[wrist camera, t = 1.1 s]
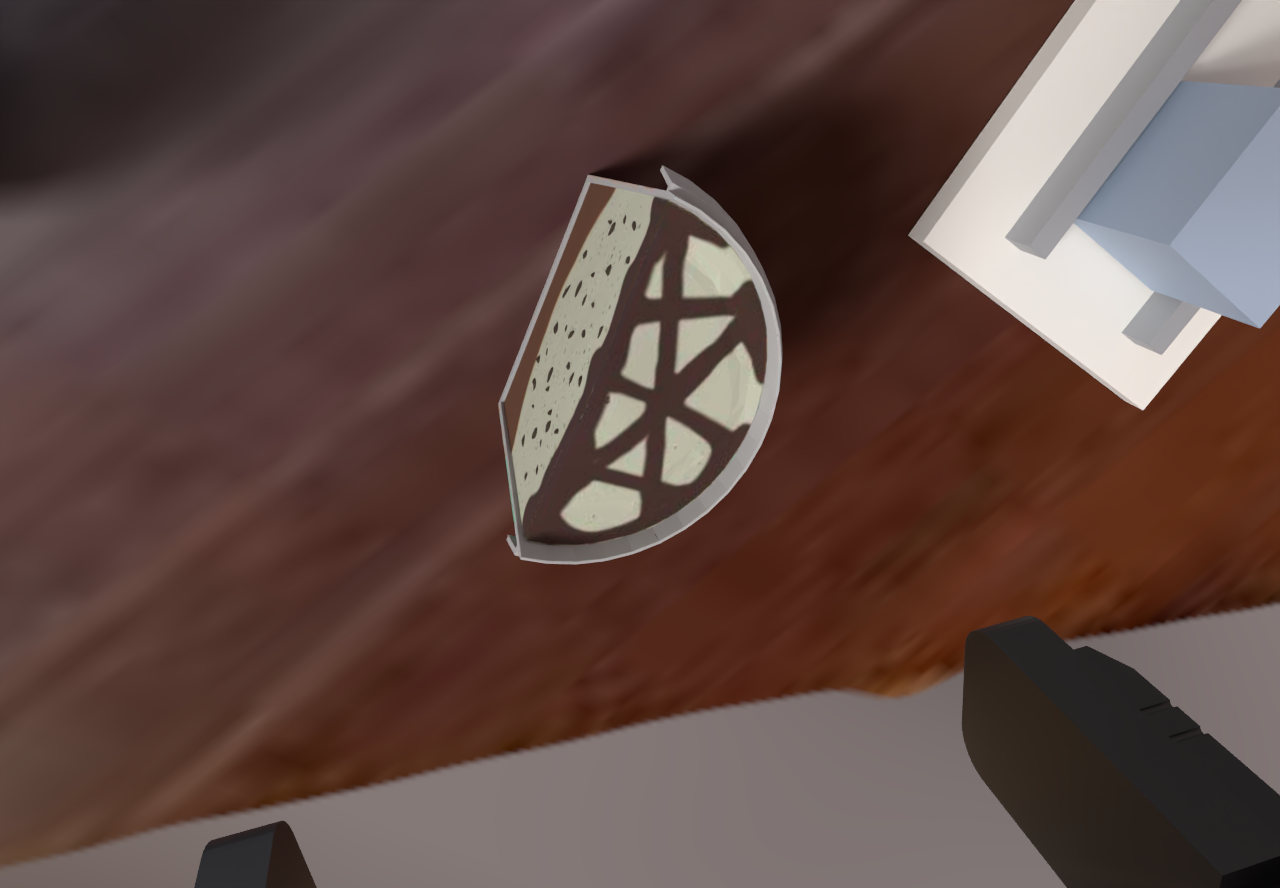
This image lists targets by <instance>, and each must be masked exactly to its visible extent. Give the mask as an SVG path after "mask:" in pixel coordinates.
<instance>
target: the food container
mask: <svg viewBox="0 0 1280 888" xmlns="http://www.w3.org/2000/svg"><path fill="white" fill-rule="evenodd" d="M660 171H661V173H662V175H663V177H664V179H665V181H666V183H667V185H668V188H667V190H666V191H665V190H660V189H655V188H651V187H646V186H641V185H636V184H631V183H627V182H622V181H617V180H612V179H607V178H603V177H598V176H593V175H588V176H587V179H586V182H585V184H584V187H583V189H582V192H581V194H580V197H579V199H578V202H577V205H576V207H575V210H574V212H573V215H572V217H571V220H570V222H569V225H568V227H567V230H566V233H565V235H564V238H563V240H562V243H561V245H560V248H559V250H558V253H557V256H556V258H555V261H554V263H553V266H552V268H551V271H550V273H549V276H548V279H547V281H546V284H545V286H544V289H543V291H542V294H541V296H540V299H539V302H538V304H537V307H536V309H535V312H534V314H533V317H532V319H531V322H530V325H529V327H528V330H527V332H526V335H525V337H524V340H523V342H522V345H521V348H520V350H519V353H518V355H517V358H516V360H515V363H514V365H513V368H512V371H511V373H510V376H509V378H508V381H507V383H506V386H505V388H504V391H503V394H502V396H501V399H500V401H499V404H498V406H499V414H500V421H501V429H502V436H503V444H504V451H505V458H506V466H507V473H508V481H509V488H510V496H511V503H512V510H513V518H514V525H515V533H516V536H511V535H508V537H507V542H508V543H509V545H510V547H511V549H512V551H513V553H514V555H517V556H519V557H520V559H521V560H528V561H534V562H540V563H547V564H583V563H592V562H601V561H607V560H611V559H615V558H619V557H623V556H627V555H631V554H634V553H637V552H639V551H642V550H645V549H647V548H650V547H652V546H655V545H657V544H660V543H662V542H663V541H665V540H667V539H669V538H671V537H672V536H674V535H676V534H678V533H680V532H681V531H683V530H685V529H686V528H688V527H689V526H690V525H692V524H693V523H694V522H696V521H697V520H699V519H700V518H701V517H703V516H704V515H705V514H707V513H708V512H709V511H710V510H711V509H712V508H713V507H714V506H715V505H716V504H717V503H718V502H719V501H720V500H722V499H723V498H724V497H725V496H726V495H727V494H728V493H729V492H730V490H731V489H732V488H733V487H734V485H735V484H736V483H737V482H738V480H739V479H740V478H741V476H742V475H743V474H744V473H745V471H746V470H747V469H748V467H749V465H750V463H751V462H752V460H753V458H754V457H755V455H756V453H757V452H758V450H759V448H760V446H761V445H762V442H763V440H764V437H765V435H766V432H767V430H768V428H769V425H770V423H771V420H772V417H773V413H774V409H775V405H776V401H777V397H778V393H779V387H780V376H781V366H782V356H783V353H782V337H781V324H780V319H779V315H778V311H777V306H776V302H775V297H774V294H773V292H772V289H771V287H770V284H769V282H768V280H767V277H766V275H765V272H764V270H763V267H762V266H761V264H760V262H759V260H758V258H757V256H756V254H755V252H754V251H753V249H752V247H751V246H750V244H749V243H748V241H747V240H746V238H745V236H744V235H743V233H742V232H741V230H740V229H739V227H738V225H737V224H736V223H735V222H734V221H733V219H732V218H731V217H730V216H729V215H728V214H727V213H726V212H725V211H724V209H723V208H722V207H721V206H720V205H719V204H718V203H717V202H716V201H715V200H714V199H713V198H712V197H710V196H709V195H708V194H707V193H705V192H704V191H703V190H702V189H700V188H699V187H698V186H696V185H695V184H694V183H693V182H691V181H690V180H689V179H687V178H685V177H683V176H681V175H680V174H678V173H676V172H674V171H672V170H670V169H669V168H667V167H665V166H663V165H662V167H661V169H660Z"/></svg>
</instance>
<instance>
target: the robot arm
mask: <svg viewBox="0 0 1280 888" xmlns="http://www.w3.org/2000/svg"><path fill="white" fill-rule="evenodd" d="M962 731H963V737H964V742H965V744H966V748H967V751H968V754H969V756H970V759H971V761H972V763H973V765H974V767H975V769H976V771H977V772H978V774H979V775H980V777H981V778H982V779H983V781H984V782H985V784H986V785H987V786H988V787H989V789H990V790H991V791H992V792H993V794H994V795H995V796H996V797H997V799H998V800H999V801H1000V803H1001V804H1002V805H1003V806H1004V808H1005V809H1006V810H1007V812H1008V813H1009V814H1010V815H1011V817H1012V818H1013V819H1014V820H1015V822H1016V823H1017V824H1018V826H1019V827H1020V828H1021V829H1022V831H1023V832H1024V833H1025V835H1026V836H1027V837H1028V838H1029V840H1030V841H1031V842H1032V844H1033V845H1034V846H1035V847H1036V849H1037V850H1038V851H1039V853H1040V854H1041V855H1042V856H1043V858H1044V859H1045V860H1046V861H1047V863H1048V864H1049V865H1050V866H1051V868H1052V869H1053V870H1054V872H1055V873H1056V874H1057V876H1058V877H1059V878H1060V879H1061V881H1062V882H1063V883H1064V885H1065V886H1066V887H1067V888H1280V795H1279V794H1277V793H1276V792H1275V791H1274V790H1273V789H1272V788H1271V787H1270V786H1268V785H1267V784H1266V783H1265V782H1264V781H1263V780H1261V779H1260V778H1259V777H1258V776H1257V775H1256V774H1255V773H1253V772H1252V771H1251V770H1250V769H1249V768H1248V767H1246V766H1245V765H1244V764H1243V763H1242V762H1241V761H1240V760H1238V759H1237V758H1236V757H1235V756H1234V755H1233V754H1231V753H1230V752H1229V751H1228V750H1227V749H1226V748H1225V747H1223V746H1222V745H1221V744H1220V743H1219V742H1218V741H1216V740H1215V739H1214V738H1213V737H1212V736H1211V735H1210V734H1203V733H1202V731H1201V729H1200V726H1199V725H1198V724H1197V723H1196V722H1194V721H1193V720H1192V719H1191V718H1190V717H1189V716H1188V715H1186V714H1185V713H1184V712H1183V711H1182V710H1181V709H1180V708H1178V707H1172V705H1171V704H1170V700H1169V699H1168V698H1167V697H1166V696H1164V695H1163V694H1162V693H1161V692H1160V691H1159V690H1158V689H1156V688H1155V687H1154V686H1153V685H1152V684H1150V683H1149V682H1148V681H1147V680H1146V679H1145V678H1144V677H1142V676H1141V675H1140V674H1139V673H1138V672H1137V671H1135V670H1134V669H1133V668H1131V667H1129V666H1127V665H1125V664H1122V663H1121V662H1119V661H1117V660H1115V659H1113V658H1111V657H1108V656H1107V655H1105V654H1102V653H1100V652H1098V651H1096V650H1094V649H1092V648H1090V647H1088V646H1085V647H1082V648H1078V649H1075V650H1073V649H1072V648H1071V647H1070V646H1069V645H1068V644H1067V643H1065V642H1064V641H1063V640H1062V639H1061V638H1060V637H1059V636H1058V635H1057V634H1056V633H1055V632H1053V631H1052V630H1051V629H1050V628H1049V627H1048V626H1047V625H1046V624H1045V623H1043V622H1042V621H1041V620H1039V619H1037V618H1036V617H1032V616H1025V617H1022V618H1018V619H1015V620H1011V621H1007V622H1004V623H1000V624H997V625H993V626H989V627H986V628H982V629H979V630H975V631H972V632H971V633H969V635H968V636H967V639H966V643H965V660H964V686H963V710H962ZM195 888H317V887H316V885H315V883H314V880H313V878H312V876H311V873H310V871H309V869H308V867H307V864H306V862H305V860H304V857H303V855H302V853H301V850H300V848H299V846H298V843H297V841H296V838H295V836H294V834H293V832H292V830H291V828H290V826H289V825H288V824H287V823H286V822H285V821H280V822H276V823H272V824H269V825H265V826H261V827H258V828H254V829H251V830H247V831H244V832H240V833H236V834H233V835H229V836H225V837H222V838H218V839H215V840H211V841H210V842H209V843H208V844H207V845H206V847H205V849H204V851H203V854H202V858H201V862H200V866H199V870H198V875H197V879H196V883H195Z"/></svg>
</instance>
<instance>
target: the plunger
mask: <svg viewBox="0 0 1280 888" xmlns="http://www.w3.org/2000/svg"><path fill="white" fill-rule="evenodd" d="M1074 224H1076V225H1077V226H1078V227H1079V228H1080V229H1081V230H1082V231H1084V232H1085V233H1086V234H1087V235H1088V236H1089V237H1090V238H1092V239H1093V240H1094V241H1095V242H1096V243H1097V244H1099V245H1100V246H1101V247H1102V248H1103V249H1104V250H1105V251H1107V252H1108V253H1109V254H1110V255H1111V256H1112V257H1113V258H1115V259H1116V260H1117V261H1118V262H1119V263H1120V264H1122V265H1123V266H1124V267H1125V268H1126V269H1127V270H1128V271H1130V272H1131V273H1132V274H1133V275H1134V276H1135V277H1136V278H1138V279H1139V280H1140V281H1141V282H1142V283H1143V284H1145V285H1146V286H1147V287H1148V288H1149V289H1150V290H1152V291H1155V292H1158V293H1161V294H1164V295H1166V296H1169V297H1172V298H1175V299H1178V300H1181V301H1183V302H1186V303H1189V304H1192V305H1195V306H1198V307H1200V308H1203V309H1206V310H1209V311H1212V312H1215V313H1218V314H1220V315H1223V316H1226V317H1229V318H1232V319H1235V320H1237V321H1240V322H1243V323H1246V324H1249V325H1252V326H1254V327H1257V328H1261V327H1262V325H1263V324H1264V323H1265V322H1266V321H1267V319H1268V318H1269V317H1270V316H1271V315H1272V314H1273V312H1274V311H1275V310H1276V309H1277V308H1278V306H1279V305H1280V79H1279V80H1278V81H1277V83H1276V84H1275V85H1274V86H1273V87H1261V86H1247V85H1233V84H1219V83H1205V82H1191V81H1180V83H1179V84H1178V85H1177V87H1176V88H1175V89H1174V91H1173V92H1172V93H1171V95H1170V96H1169V97H1168V99H1167V100H1166V101H1165V103H1164V104H1163V105H1162V107H1161V108H1160V109H1159V111H1158V112H1157V113H1156V114H1155V116H1154V117H1153V118H1152V120H1151V121H1150V122H1149V124H1148V125H1147V126H1146V128H1145V129H1144V130H1143V132H1142V133H1141V134H1140V136H1139V137H1138V138H1137V140H1136V141H1135V142H1134V143H1133V145H1132V146H1131V147H1130V149H1129V150H1128V151H1127V153H1126V154H1125V155H1124V157H1123V158H1122V159H1121V161H1120V162H1119V163H1118V165H1117V166H1116V167H1115V169H1114V170H1113V171H1112V173H1111V174H1110V175H1109V176H1108V178H1107V179H1106V180H1105V182H1104V183H1103V184H1102V186H1101V187H1100V188H1099V190H1098V191H1097V192H1096V194H1095V195H1094V196H1093V198H1092V199H1091V200H1090V202H1089V203H1088V204H1087V206H1086V207H1085V208H1084V209H1083V211H1082V212H1081V213H1080V215H1079V216H1078V217H1077V219H1076V220H1075V221H1074Z"/></svg>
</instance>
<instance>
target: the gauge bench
mask: <svg viewBox="0 0 1280 888" xmlns="http://www.w3.org/2000/svg"><path fill="white" fill-rule="evenodd" d="M1279 79H1280V0H1075V1H1074V3H1073V4H1072V5H1071V7H1070V8H1069V10H1068V11H1067V12H1066V14H1065V15H1064V17H1063V18H1062V19H1061V21H1060V22H1059V24H1058V25H1057V26H1056V28H1055V29H1054V31H1053V32H1052V33H1051V35H1050V36H1049V38H1048V39H1047V40H1046V42H1045V43H1044V45H1043V46H1042V48H1041V49H1040V50H1039V52H1038V53H1037V55H1036V56H1035V57H1034V59H1033V60H1032V62H1031V63H1030V64H1029V66H1028V67H1027V69H1026V70H1025V71H1024V73H1023V74H1022V76H1021V77H1020V78H1019V80H1018V81H1017V83H1016V84H1015V85H1014V87H1013V88H1012V90H1011V91H1010V92H1009V94H1008V95H1007V97H1006V98H1005V100H1004V101H1003V102H1002V104H1001V105H1000V107H999V108H998V109H997V111H996V112H995V114H994V115H993V116H992V118H991V119H990V121H989V122H988V123H987V125H986V126H985V128H984V129H983V130H982V132H981V133H980V135H979V136H978V137H977V139H976V140H975V142H974V143H973V144H972V146H971V147H970V149H969V150H968V152H967V153H966V154H965V156H964V157H963V159H962V160H961V161H960V163H959V164H958V166H957V167H956V168H955V170H954V171H953V173H952V174H951V175H950V177H949V178H948V180H947V181H946V182H945V184H944V185H943V187H942V188H941V189H940V191H939V192H938V194H937V195H936V196H935V198H934V199H933V201H932V202H931V204H930V205H929V206H928V208H927V209H926V211H925V212H924V213H923V215H922V216H921V218H920V219H919V220H918V222H917V223H916V225H915V226H914V227H913V229H912V230H911V232H910V233H909V234H908V236H909V237H911V238H912V239H913V240H915V241H916V242H917V243H919V244H920V245H921V246H922V247H924V248H925V249H926V250H928V251H929V252H930V253H932V254H933V255H934V256H936V257H937V258H938V259H940V260H941V261H942V262H943V263H945V264H946V265H947V266H949V267H950V268H951V269H953V270H954V271H955V272H957V273H958V274H959V275H960V276H962V277H963V278H964V279H966V280H967V281H968V282H970V283H971V284H972V285H974V286H975V287H976V288H977V289H979V290H980V291H981V292H983V293H984V294H985V295H987V296H988V297H989V298H991V299H992V300H993V301H995V302H996V303H997V304H998V305H1000V306H1001V307H1002V308H1004V309H1005V310H1006V311H1008V312H1009V313H1010V314H1012V315H1013V316H1014V317H1015V318H1017V319H1018V320H1019V321H1021V322H1022V323H1023V324H1025V325H1026V326H1027V327H1029V328H1030V329H1031V330H1032V331H1034V332H1035V333H1036V334H1038V335H1039V336H1040V337H1042V338H1043V339H1044V340H1046V341H1047V342H1048V343H1050V344H1051V345H1052V346H1053V347H1055V348H1056V349H1057V350H1059V351H1060V352H1061V353H1063V354H1064V355H1065V356H1067V357H1068V358H1069V359H1070V360H1072V361H1073V362H1074V363H1076V364H1077V365H1078V366H1080V367H1081V368H1082V369H1084V370H1085V371H1086V372H1087V373H1089V374H1090V375H1091V376H1093V377H1094V378H1095V379H1097V380H1098V381H1099V382H1101V383H1102V384H1103V385H1104V386H1106V387H1107V388H1108V389H1110V390H1111V391H1112V392H1114V393H1115V394H1116V395H1118V396H1119V397H1120V398H1122V399H1123V400H1124V401H1126V402H1128V403H1130V404H1132V405H1134V406H1136V407H1137V408H1139V409H1141V410H1144V409H1145V407H1146V406H1147V405H1148V404H1149V403H1150V401H1151V400H1152V399H1153V398H1154V397H1155V395H1156V394H1157V393H1158V392H1159V391H1160V389H1161V388H1162V387H1163V386H1164V384H1165V383H1166V382H1167V381H1168V380H1169V378H1170V377H1171V376H1172V375H1173V374H1174V372H1175V371H1176V370H1177V369H1178V367H1179V366H1180V365H1181V364H1182V363H1183V361H1184V360H1185V359H1186V358H1187V357H1188V355H1189V354H1190V353H1191V352H1192V350H1193V349H1194V348H1195V347H1196V346H1197V344H1198V343H1199V342H1200V341H1201V340H1202V338H1203V337H1204V336H1205V335H1206V334H1207V332H1208V331H1209V330H1210V329H1211V327H1212V326H1213V325H1214V324H1215V323H1216V321H1217V320H1218V319H1219V318H1220V317H1221V315H1220V314H1218V313H1215V312H1212V311H1209V310H1206V309H1203V308H1200V307H1198V306H1195V305H1192V304H1189V303H1186V302H1183V301H1181V300H1178V299H1175V298H1172V297H1169V296H1166V295H1164V294H1161V293H1158V292H1155V291H1152V290H1150V289H1149V288H1148V287H1147V286H1146V285H1145V284H1143V283H1142V282H1141V281H1140V280H1139V279H1138V278H1136V277H1135V276H1134V275H1133V274H1132V273H1131V272H1130V271H1128V270H1127V269H1126V268H1125V267H1124V266H1123V265H1122V264H1120V263H1119V262H1118V261H1117V260H1116V259H1115V258H1113V257H1112V256H1111V255H1110V254H1109V253H1108V252H1107V251H1105V250H1104V249H1103V248H1102V247H1101V246H1100V245H1099V244H1097V243H1096V242H1095V241H1094V240H1093V239H1092V238H1090V237H1089V236H1088V235H1087V234H1086V233H1085V232H1084V231H1082V230H1081V229H1080V228H1079V227H1078V226H1077V225H1076V224H1074V221H1075V220H1076V219H1077V217H1078V216H1079V215H1080V213H1081V212H1082V211H1083V209H1084V208H1085V207H1086V206H1087V204H1088V203H1089V202H1090V200H1091V199H1092V198H1093V196H1094V195H1095V194H1096V192H1097V191H1098V190H1099V188H1100V187H1101V186H1102V184H1103V183H1104V182H1105V180H1106V179H1107V178H1108V176H1109V175H1110V174H1111V173H1112V171H1113V170H1114V169H1115V167H1116V166H1117V165H1118V163H1119V162H1120V161H1121V159H1122V158H1123V157H1124V155H1125V154H1126V153H1127V151H1128V150H1129V149H1130V147H1131V146H1132V145H1133V143H1134V142H1135V141H1136V140H1137V138H1138V137H1139V136H1140V134H1141V133H1142V132H1143V130H1144V129H1145V128H1146V126H1147V125H1148V124H1149V122H1150V121H1151V120H1152V118H1153V117H1154V116H1155V114H1156V113H1157V112H1158V111H1159V109H1160V108H1161V107H1162V105H1163V104H1164V103H1165V101H1166V100H1167V99H1168V97H1169V96H1170V95H1171V93H1172V92H1173V91H1174V89H1175V88H1176V87H1177V85H1178V84H1179V83H1180V81H1191V82H1205V83H1219V84H1233V85H1247V86H1261V87H1273V86H1274V85H1275V84H1276V83H1277V81H1278V80H1279Z"/></svg>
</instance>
